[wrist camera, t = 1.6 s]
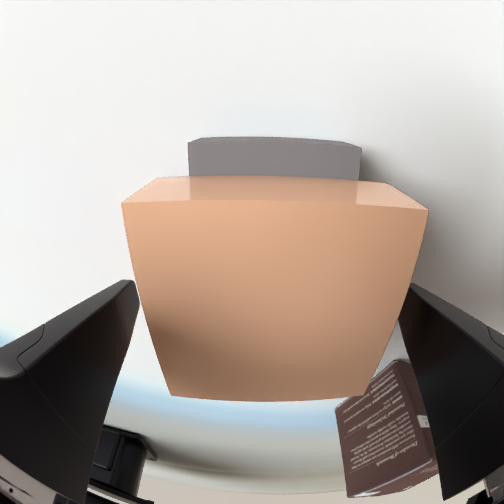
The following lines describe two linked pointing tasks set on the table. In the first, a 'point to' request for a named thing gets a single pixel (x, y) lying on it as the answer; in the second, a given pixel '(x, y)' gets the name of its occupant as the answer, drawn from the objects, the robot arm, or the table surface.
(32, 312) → the table surface
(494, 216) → the table surface
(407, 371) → the box
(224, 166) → the block
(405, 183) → the table surface
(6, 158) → the table surface
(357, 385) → the tile
